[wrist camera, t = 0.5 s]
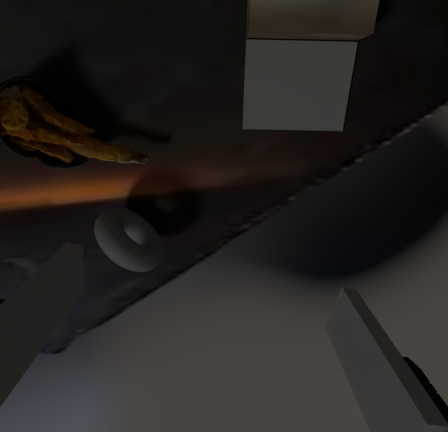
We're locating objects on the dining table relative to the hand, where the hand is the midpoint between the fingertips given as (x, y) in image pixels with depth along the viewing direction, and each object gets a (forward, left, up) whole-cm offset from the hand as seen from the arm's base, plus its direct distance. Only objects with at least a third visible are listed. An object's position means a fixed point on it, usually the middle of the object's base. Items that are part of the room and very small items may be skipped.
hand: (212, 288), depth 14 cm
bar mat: (-10, +10, -27) cm, 30 cm away
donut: (+8, -11, -27) cm, 30 cm away
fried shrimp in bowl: (-5, -18, -27) cm, 33 cm away
